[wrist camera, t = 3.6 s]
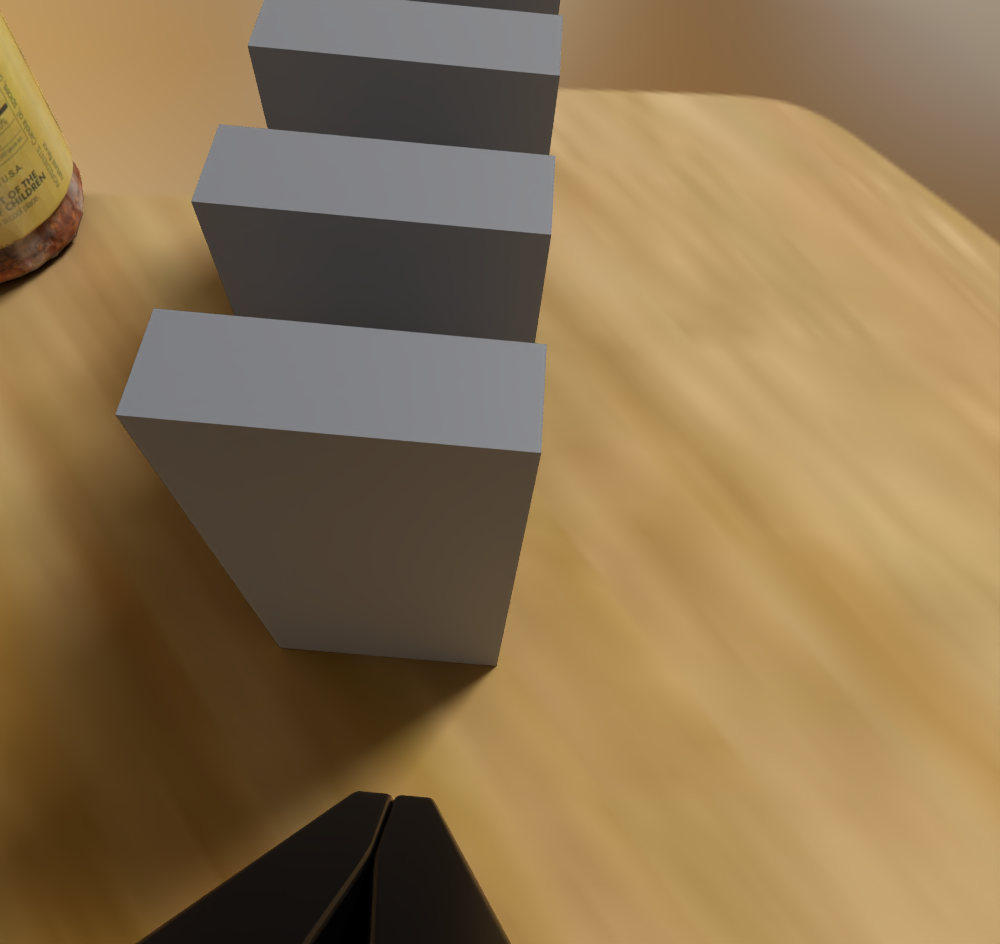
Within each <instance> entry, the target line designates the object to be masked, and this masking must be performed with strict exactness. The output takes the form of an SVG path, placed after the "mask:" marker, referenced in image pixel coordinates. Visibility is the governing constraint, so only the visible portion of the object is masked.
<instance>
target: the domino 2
mask: <svg viewBox="0 0 1000 944" xmlns="http://www.w3.org/2000/svg"><path fill="white" fill-rule="evenodd" d="M554 172H555V156H551V155H540V154H529V153H519V152H508V151H498V150H487V149H476V148H466V147H455V146H444V145H434V144H423V143H412V142H402V141H391V140H381V139H370V138H359V137H349V136H338V135H327V134H317V133H306V132H295V131H285V130H274V129H264V128H253V127H242V126H231V125H221V124H219V127H218V129H217V132H216V134H215V137H214V140H213V143H212V146H211V148H210V151H209V154H208V157H207V159H206V162H205V165H204V168H203V171H202V173H201V176H200V179H199V181H198V184H197V187H196V190H195V193H194V195H193V198H192V201H191V202H192V205H193V207H194V210H195V213H196V215H197V218H198V221H199V223H200V226H201V228H202V231H203V234H204V236H205V239H206V242H207V244H208V247H209V250H210V252H211V255H212V257H213V260H214V263H215V265H216V268H217V271H218V273H219V276H220V279H221V281H222V284H223V286H224V289H225V292H226V294H227V297H228V300H229V302H230V305H231V308H232V310H233V313H234V315H235V316H242V317H253V318H264V319H275V320H286V321H297V322H308V323H319V324H330V325H341V326H352V327H362V328H373V329H384V330H395V331H406V332H417V333H428V334H439V335H450V336H461V337H471V338H482V339H493V340H504V341H515V342H526V343H535V338H536V331H537V325H538V318H539V311H540V305H541V298H542V292H543V285H544V278H545V272H546V265H547V259H548V252H549V246H550V239H551V228H552V209H553V191H554Z"/></svg>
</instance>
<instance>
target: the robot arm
mask: <svg viewBox="0 0 1000 944" xmlns="http://www.w3.org/2000/svg"><path fill="white" fill-rule="evenodd" d="M136 944H511V943H510V941H509V939H508V937H507V935H506V934H505V932H504V930H503V928H502V926H501V924H500V922H499V921H498V919H497V917H496V915H495V913H494V911H493V909H492V908H491V906H490V904H489V902H488V900H487V898H486V896H485V895H484V893H483V891H482V889H481V887H480V885H479V883H478V881H477V880H476V878H475V876H474V874H473V872H472V870H471V868H470V867H469V865H468V863H467V861H466V859H465V857H464V855H463V854H462V852H461V850H460V848H459V846H458V844H457V842H456V841H455V839H454V837H453V835H452V833H451V831H450V829H449V828H448V826H447V824H446V822H445V820H444V818H443V816H442V815H441V813H440V811H439V809H438V807H437V805H436V803H435V802H434V801H433V800H432V799H431V798H426V797H415V796H405V795H400V796H397V797H396V798H395V799H394V801H393V799H392V797H391V796H390V795H389V794H384V793H373V792H363V791H357V792H355V793H352V794H351V795H349V796H348V797H346V798H345V799H343V800H342V801H341V802H339V803H338V804H336V805H335V806H333V807H332V808H330V809H329V810H328V811H326V812H325V813H323V814H322V815H320V816H319V817H317V818H316V819H315V820H313V821H312V822H310V823H309V824H307V825H306V826H304V827H303V828H302V829H300V830H299V831H297V832H296V833H294V834H293V835H291V836H290V837H289V838H287V839H286V840H284V841H283V842H281V843H280V844H278V845H277V846H276V847H274V848H273V849H271V850H270V851H268V852H267V853H265V854H264V855H263V856H261V857H260V858H258V859H257V860H255V861H254V862H252V863H251V864H250V865H248V866H247V867H245V868H244V869H242V870H241V871H240V872H238V873H237V874H235V875H234V876H232V877H231V878H229V879H228V880H227V881H225V882H224V883H222V884H221V885H219V886H218V887H216V888H215V889H214V890H212V891H211V892H209V893H208V894H206V895H205V896H203V897H202V898H201V899H199V900H198V901H196V902H195V903H193V904H192V905H190V906H189V907H188V908H186V909H185V910H183V911H182V912H180V913H179V914H177V915H176V916H175V917H173V918H172V919H170V920H169V921H167V922H166V923H164V924H163V925H162V926H160V927H159V928H157V929H156V930H154V931H153V932H151V933H150V934H149V935H147V936H146V937H144V938H143V939H141V940H140V941H138V942H137V943H136Z"/></svg>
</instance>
